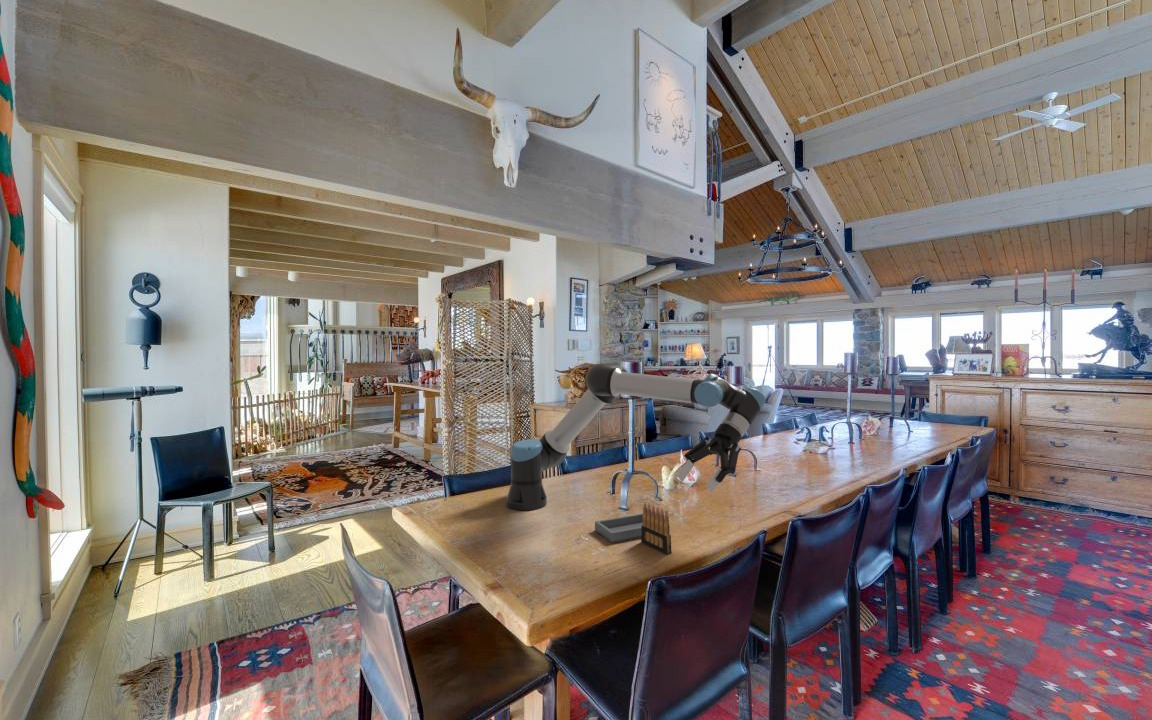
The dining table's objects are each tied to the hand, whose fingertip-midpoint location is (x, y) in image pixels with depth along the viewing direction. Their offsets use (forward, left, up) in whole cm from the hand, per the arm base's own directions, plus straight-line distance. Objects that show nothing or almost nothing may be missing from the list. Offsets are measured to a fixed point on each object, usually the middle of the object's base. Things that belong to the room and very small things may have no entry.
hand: (693, 483), depth 137 cm
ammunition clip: (-1, -13, -17) cm, 22 cm away
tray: (-14, -13, -17) cm, 26 cm away
